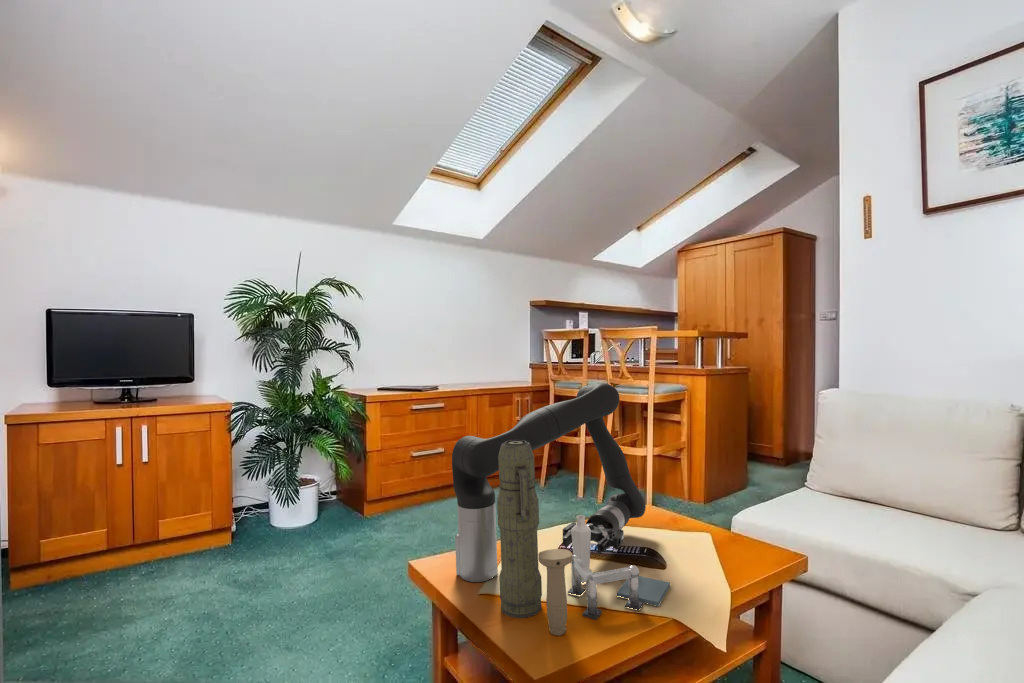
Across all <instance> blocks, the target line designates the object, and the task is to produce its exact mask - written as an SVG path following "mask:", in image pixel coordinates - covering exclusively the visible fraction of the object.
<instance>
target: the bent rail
mask: <svg viewBox="0 0 1024 683" xmlns="http://www.w3.org/2000/svg"><path fill="white" fill-rule="evenodd" d="M570 565H571V568H570V569H571V587H570V589H568V590H567V594H568V593H571V594H576V595H581V594H582V593H583V592H584V591H585V590H586V607H587V608H586V609H585V610H584V611H583V612H582V617H584V618H589V619H592V620H595V621H597V620H598V619H599V617H600V616H601V615H602V614H603V610H602V609H600V608H598V597H597V596H598V593H597V585H599V584H604V583H605V584H606V583H612V582H617V581H621V580H627V579H628V585H629V600H626V602H625V604H624V608H625V607H629V608H633V609H637V610H639V609H640V608H641V609H642V607H643V606H644V604H643V602H642V601H639V592H638V576H640V569H639V568H638V567H637V566H636V565H635V564H632V565H631V564H630V565H628V567H627V566H626V567H620V568H615V569H609V570H602V571H598V572H593V571H592V570H591V569H590V568H589V567H588V566H587V565H586V564H585V563H584V562H583V560H582V559H581V557H580V556H579V555H578V554H573V553H572V561H571V563H570ZM581 576H582V577H583V578H584V580H585V581H586V584H585V585H586V588H585V587H582V585H581ZM642 605H643V606H642ZM641 606H642V607H641ZM641 609H640V610H641Z"/></svg>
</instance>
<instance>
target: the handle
mask: <svg viewBox="0 0 1024 683" xmlns="http://www.w3.org/2000/svg"><path fill="white" fill-rule="evenodd" d="M572 555H573V552H571V551H570V550H569V549H563V548H562V549H561V548H552V549H546V550H542V551H539V552H538V563H539V564H541V565H542V566H544V567H546V601H545V602H546V604H545V605H546V615H547V621H548V628H549V632H550V634H551V635H555V636H557V637H561V636H562V635H564V634H566V632H567V621H568V620H567V619H568V597H567V588H566V587H567V586H566V577H565V576H566V575H565V567H566V566H567V565H569V564H571V561H572Z"/></svg>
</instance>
